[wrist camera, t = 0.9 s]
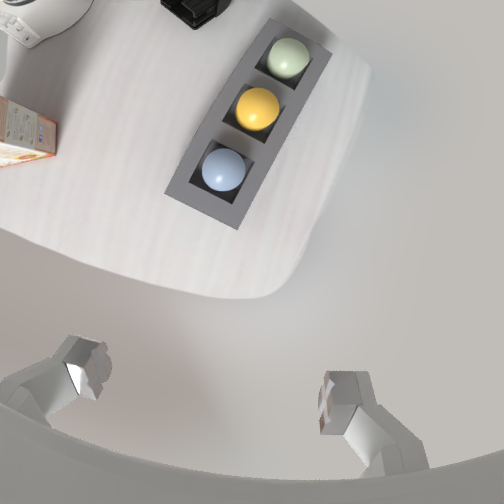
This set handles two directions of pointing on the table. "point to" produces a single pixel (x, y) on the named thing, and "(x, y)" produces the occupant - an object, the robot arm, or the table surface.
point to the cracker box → (24, 134)
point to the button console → (237, 138)
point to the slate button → (223, 169)
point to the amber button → (256, 109)
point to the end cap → (196, 10)
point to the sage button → (287, 58)
